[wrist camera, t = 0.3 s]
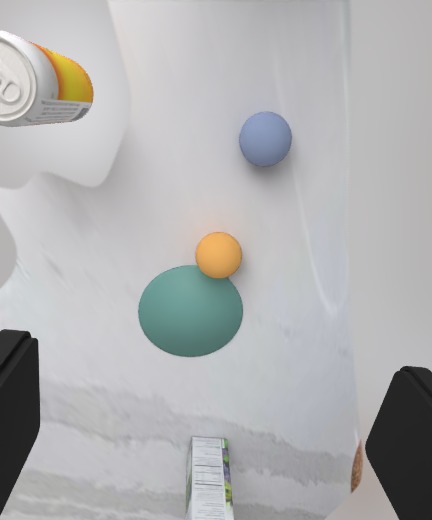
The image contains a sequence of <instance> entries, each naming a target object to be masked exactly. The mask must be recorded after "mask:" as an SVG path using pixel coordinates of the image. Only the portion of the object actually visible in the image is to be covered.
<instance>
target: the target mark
mask: <svg viewBox="0 0 432 520" xmlns="http://www.w3.org/2000/svg"><path fill="white" fill-rule="evenodd" d="M242 312H243V309H242V302H241V298H240V296H239V293H238V291H237V290H236V288H235V286H234V285H233V284H232V283H231V282H230V281H229V280H228V279H227V278H212V277H209V276H207V275H206V274H204V273H203V272H202V271H201V270H200V268H199V267H198V266H182V267H177V268H173V269H171V270H168V271H166V272H164V273H162V274H160V275H159V276H157V277H156V278H155V279H154V280H153V281H152V282H151V283H150V284H149V285H148V286H147V287H146V289H145V291H144V292H143V294H142V297H141V299H140V303H139V311H138V313H139V321H140V325H141V327H142V330H143V331H144V333H145V335H146V336H147V337H148V339H149V340H150V341H151V342H152V343H153V344H154V345H156V346H157V347H158V348H160V349H162V350H163V351H166V352H168V353H171V354H174V355H178V356H185V357H195V356H202V355H206V354H209V353H212V352H214V351H216V350H218V349H220V348H221V347H223V346H224V345H226V344H227V343H228V342H229V341H230V340H231V339H232V338H233V336H234V335H235V334H236V332H237V330H238V328H239V326H240V324H241V320H242Z"/></svg>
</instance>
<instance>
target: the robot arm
mask: <svg viewBox="0 0 432 520" xmlns="http://www.w3.org/2000/svg"><path fill="white" fill-rule="evenodd" d="M39 428H40V392H39V353H38V340H37V339H36V338H31V334H30V332H28V331H18V330H7V329H4V330H1V331H0V515H1V513H2V511H3V509H4V506H5V504H6V502H7V500H8V498H9V496H10V494H11V492H12V489H13V487H14V485H15V483H16V481H17V479H18V477H19V474H20V472H21V470H22V468H23V466H24V464H25V462H26V460H27V457H28V455H29V453H30V451H31V449H32V447H33V445H34V442H35V440H36V438H37V435H38V432H39ZM365 446H366V447H365V450H366V455H367V458H368V460H369V462H370V463H371V466H372V468H373V469H374V471H375V473H376V475H377V477H378V479H379V481H380V483H381V485H382V487H383V489H384V491H385V493H386V495H387V497H388V498H389V501H390V502H391V504H392V506H393V508H394V510H395V512H396V514H397V516H398V518H399V520H432V372H431V371H430V370H428V369H427V368H422V367H412V366H404V367H402V368H401V369H400V371H397V372H396V373H395V374H394V376H393V379H392V381H391V383H390V386H389V388H388V391H387V393H386V396H385V398H384V400H383V403H382V405H381V407H380V410H379V412H378V415H377V417H376V419H375V422H374V424H373V427H372V429H371V432H370V434H369V436H368V439H367V441H366V445H365Z"/></svg>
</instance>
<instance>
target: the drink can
mask: <svg viewBox="0 0 432 520" xmlns="http://www.w3.org/2000/svg"><path fill="white" fill-rule="evenodd" d="M92 101H93V87H92V83H91V80H90V78H89V76H88V74H87V73H86V72H85V70H84V69H83V68H82V67H81V66H80V65H79V64H78V63H76V62H75V61H73V60H71V59H69V58H66V57H64V56H62V55H59V54H57V53H54V52H52V51H50V50H48V49H45V48H43V47H41V46H38V45H36V44H34V43H31V42H29V41H27V40H25V39H22V38H20V37H17V36H15V35H13V34H10V33H8V32H5V31H1V30H0V125H1V126H6V127H18V126H28V125H39V124H51V123H61V122H72V121H76V120H78V119H80V118H82V117H83V116H84V115H85V114H86V113H87V112H88V111H89V109H90V107H91V105H92Z"/></svg>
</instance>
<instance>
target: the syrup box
mask: <svg viewBox="0 0 432 520" xmlns="http://www.w3.org/2000/svg"><path fill="white" fill-rule="evenodd" d="M185 520H234V515H233V503H232V492H231V481H230V470H229V459H228V449H227V440H226V439H221V438H206V437H192V440H191V445H190V450H189V455H188V460H187V477H186V519H185Z"/></svg>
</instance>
